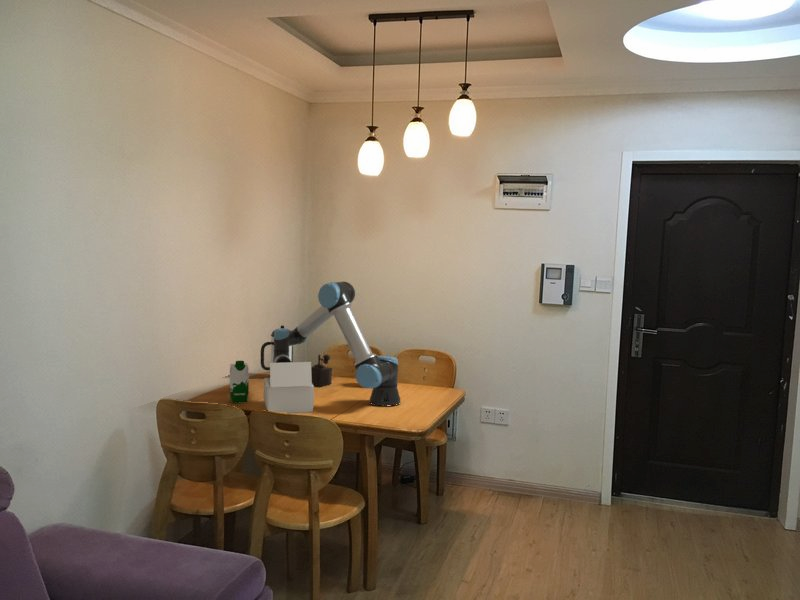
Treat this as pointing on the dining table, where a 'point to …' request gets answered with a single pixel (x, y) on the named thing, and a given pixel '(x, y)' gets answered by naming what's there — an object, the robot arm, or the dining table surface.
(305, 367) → the carton flap
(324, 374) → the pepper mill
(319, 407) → the dining table surface
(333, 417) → the dining table surface
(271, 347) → the coffee press
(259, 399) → the dining table surface
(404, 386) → the dining table surface
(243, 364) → the milk carton
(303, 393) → the carton
